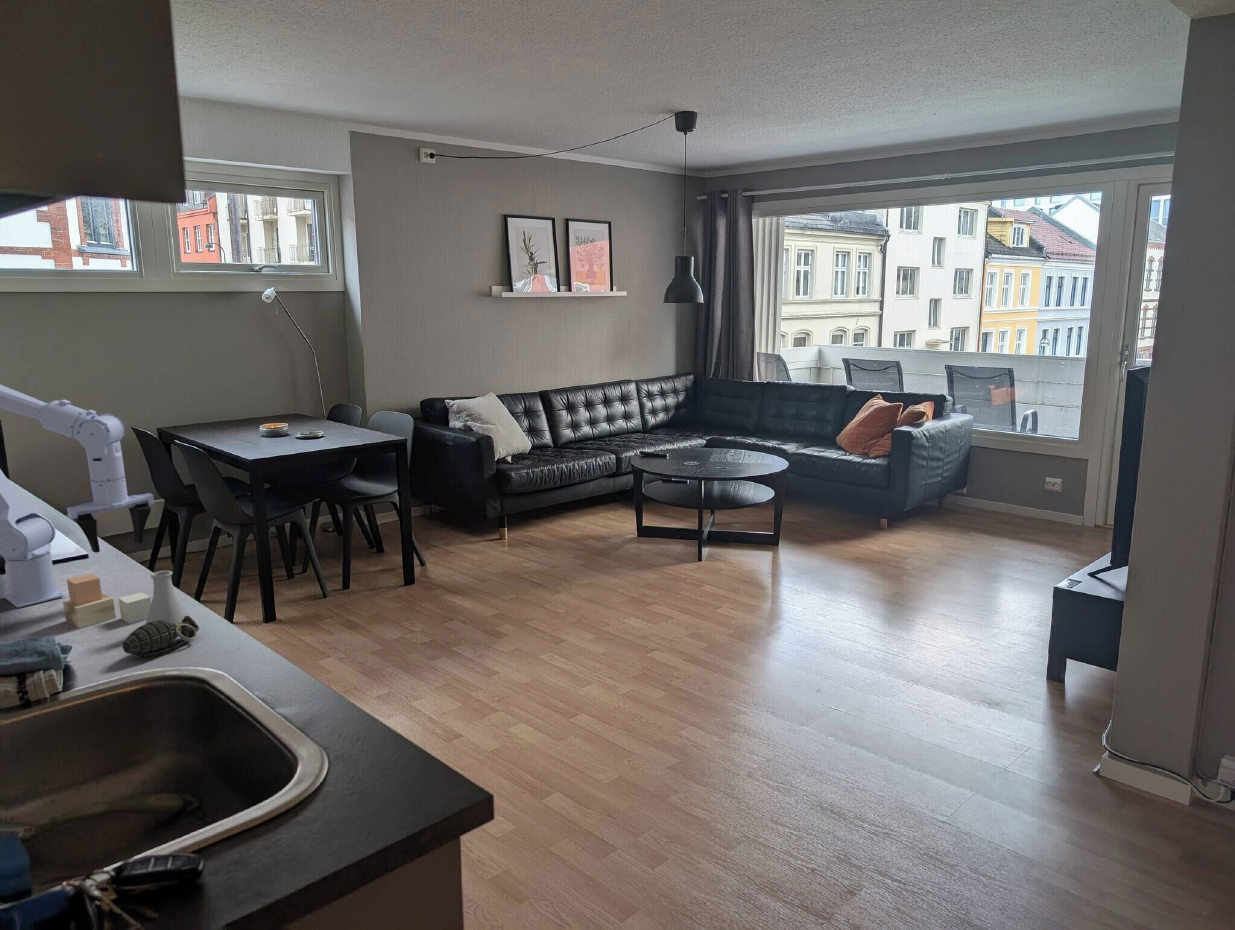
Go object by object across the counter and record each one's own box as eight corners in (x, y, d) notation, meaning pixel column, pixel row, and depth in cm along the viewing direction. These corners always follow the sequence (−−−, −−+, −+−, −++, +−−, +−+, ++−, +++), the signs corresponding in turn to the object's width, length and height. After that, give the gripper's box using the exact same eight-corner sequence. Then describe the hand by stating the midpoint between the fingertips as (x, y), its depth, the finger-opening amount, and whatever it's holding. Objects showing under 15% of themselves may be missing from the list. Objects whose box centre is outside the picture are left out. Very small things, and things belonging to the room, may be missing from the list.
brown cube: (69, 600, 154) (66, 579, 153) (94, 594, 157) (91, 573, 156) (77, 605, 152) (74, 583, 151) (102, 599, 155) (99, 578, 154)
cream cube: (121, 618, 155) (118, 598, 154) (144, 612, 158) (141, 592, 157) (129, 624, 153) (126, 603, 152) (153, 617, 156) (150, 597, 155)
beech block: (66, 622, 154) (62, 601, 154) (101, 612, 159) (98, 591, 158) (80, 629, 151) (77, 608, 150) (116, 619, 156) (113, 598, 155)
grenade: (123, 624, 135) (189, 603, 146) (111, 644, 137) (177, 622, 148) (145, 654, 134) (210, 630, 145) (133, 674, 136) (197, 649, 147)
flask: (172, 636, 147) (164, 581, 145) (135, 633, 148) (128, 579, 146) (200, 620, 154) (193, 567, 152) (165, 618, 155) (158, 565, 153)
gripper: (72, 488, 155) (82, 559, 157) (156, 474, 165) (165, 541, 168) (59, 483, 159) (70, 552, 162) (142, 470, 170) (151, 535, 173)
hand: (117, 546), depth 165 cm, fingers open, 7 cm apart
